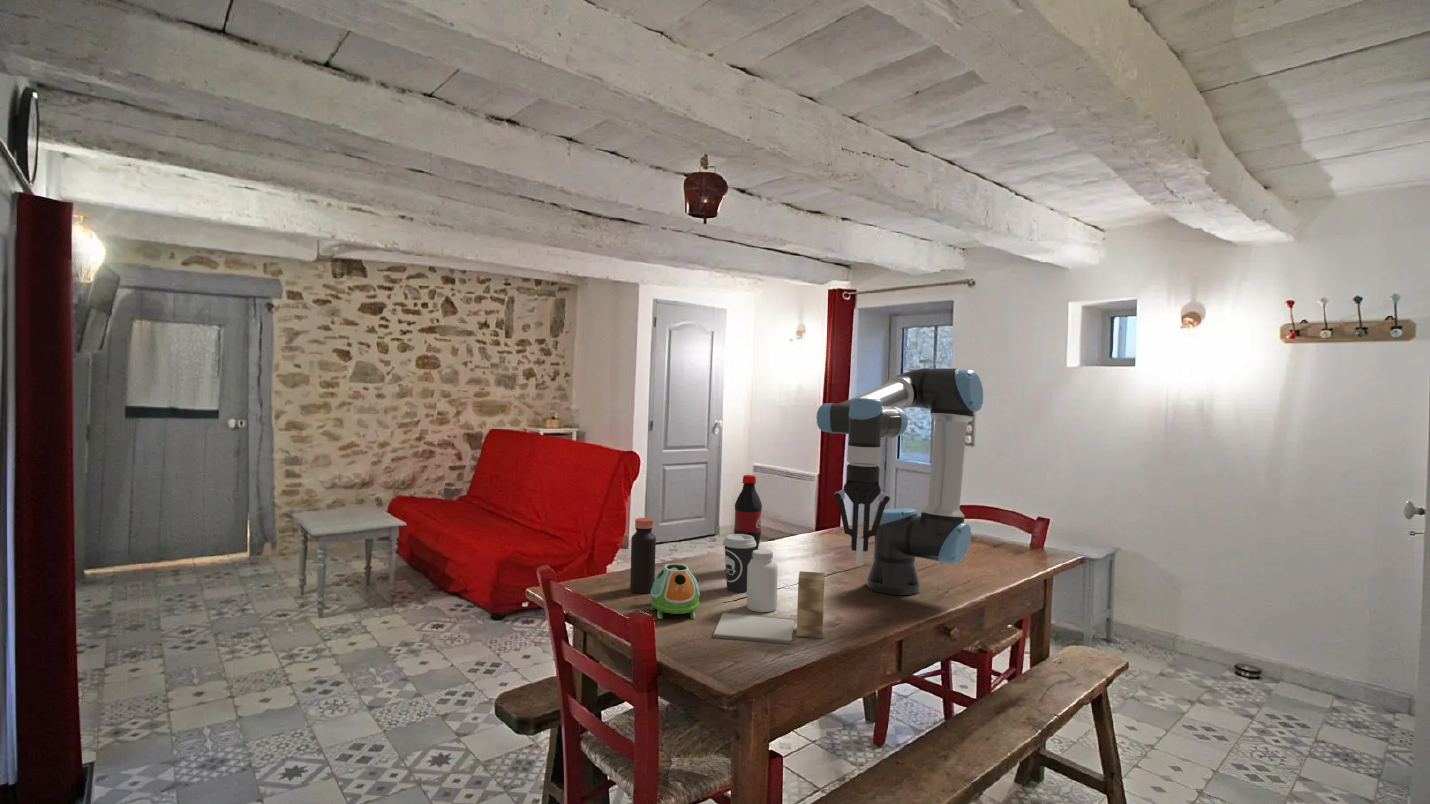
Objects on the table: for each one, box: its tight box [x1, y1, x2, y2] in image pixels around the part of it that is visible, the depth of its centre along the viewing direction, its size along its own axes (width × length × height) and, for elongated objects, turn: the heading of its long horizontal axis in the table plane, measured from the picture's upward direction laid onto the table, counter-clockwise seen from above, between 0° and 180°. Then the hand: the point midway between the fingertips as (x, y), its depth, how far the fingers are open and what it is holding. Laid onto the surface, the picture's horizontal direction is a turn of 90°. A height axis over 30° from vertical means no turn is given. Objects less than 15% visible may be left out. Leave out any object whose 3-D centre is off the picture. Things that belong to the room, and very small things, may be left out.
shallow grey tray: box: [712, 612, 795, 645], centre depth 174 cm, size 18×16×1 cm
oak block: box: [796, 570, 826, 640], centre depth 172 cm, size 6×6×14 cm
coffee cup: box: [722, 533, 756, 594], centre depth 206 cm, size 10×10×15 cm
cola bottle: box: [733, 474, 763, 550], centre depth 225 cm, size 8×8×30 cm
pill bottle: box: [746, 548, 779, 613], centre depth 190 cm, size 8×8×15 cm
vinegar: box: [629, 517, 657, 595], centre depth 202 cm, size 7×7×20 cm
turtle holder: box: [650, 563, 701, 620], centre depth 186 cm, size 12×18×12 cm
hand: (858, 564), depth 170 cm, fingers closed
